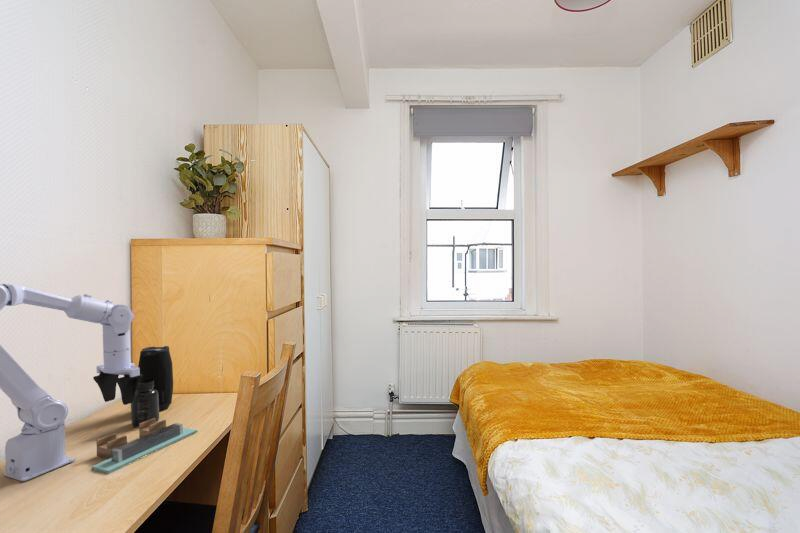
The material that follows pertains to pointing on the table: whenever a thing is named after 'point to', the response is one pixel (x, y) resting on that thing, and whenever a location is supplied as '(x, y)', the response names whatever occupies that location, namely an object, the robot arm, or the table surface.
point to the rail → (146, 442)
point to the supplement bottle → (145, 403)
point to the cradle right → (150, 427)
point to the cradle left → (109, 445)
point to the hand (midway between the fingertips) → (118, 402)
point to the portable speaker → (158, 372)
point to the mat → (111, 466)
